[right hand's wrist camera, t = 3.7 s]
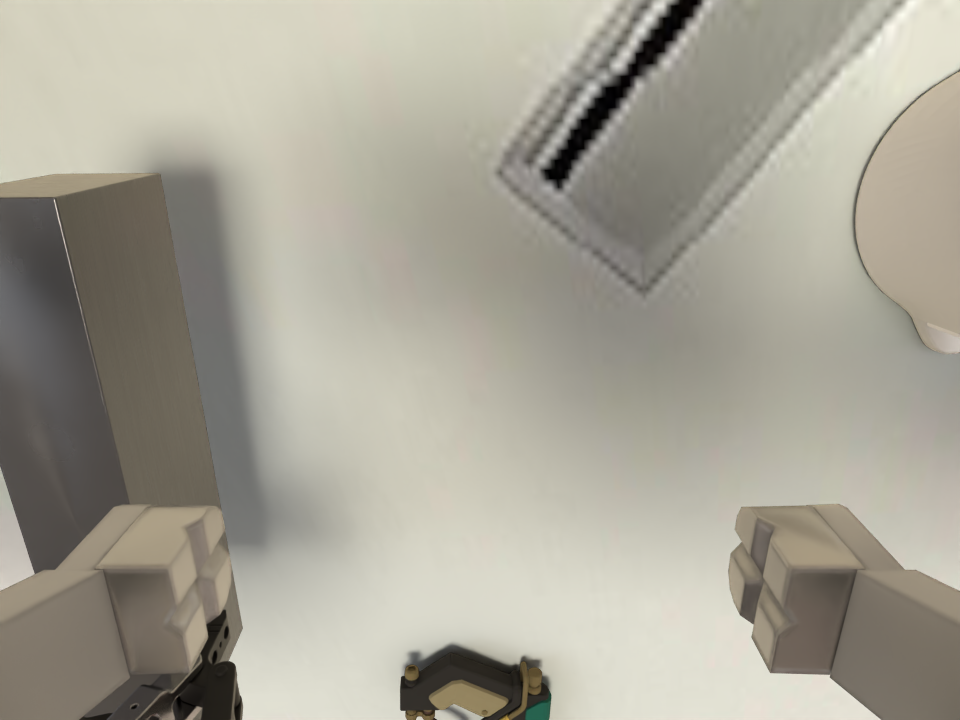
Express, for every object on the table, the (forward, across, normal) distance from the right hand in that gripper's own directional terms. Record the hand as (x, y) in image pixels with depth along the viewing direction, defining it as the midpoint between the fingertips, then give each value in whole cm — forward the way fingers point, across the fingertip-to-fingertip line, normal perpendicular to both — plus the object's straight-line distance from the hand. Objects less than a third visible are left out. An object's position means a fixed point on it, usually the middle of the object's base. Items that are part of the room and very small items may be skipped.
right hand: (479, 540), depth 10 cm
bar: (+22, -17, -10) cm, 29 cm away
